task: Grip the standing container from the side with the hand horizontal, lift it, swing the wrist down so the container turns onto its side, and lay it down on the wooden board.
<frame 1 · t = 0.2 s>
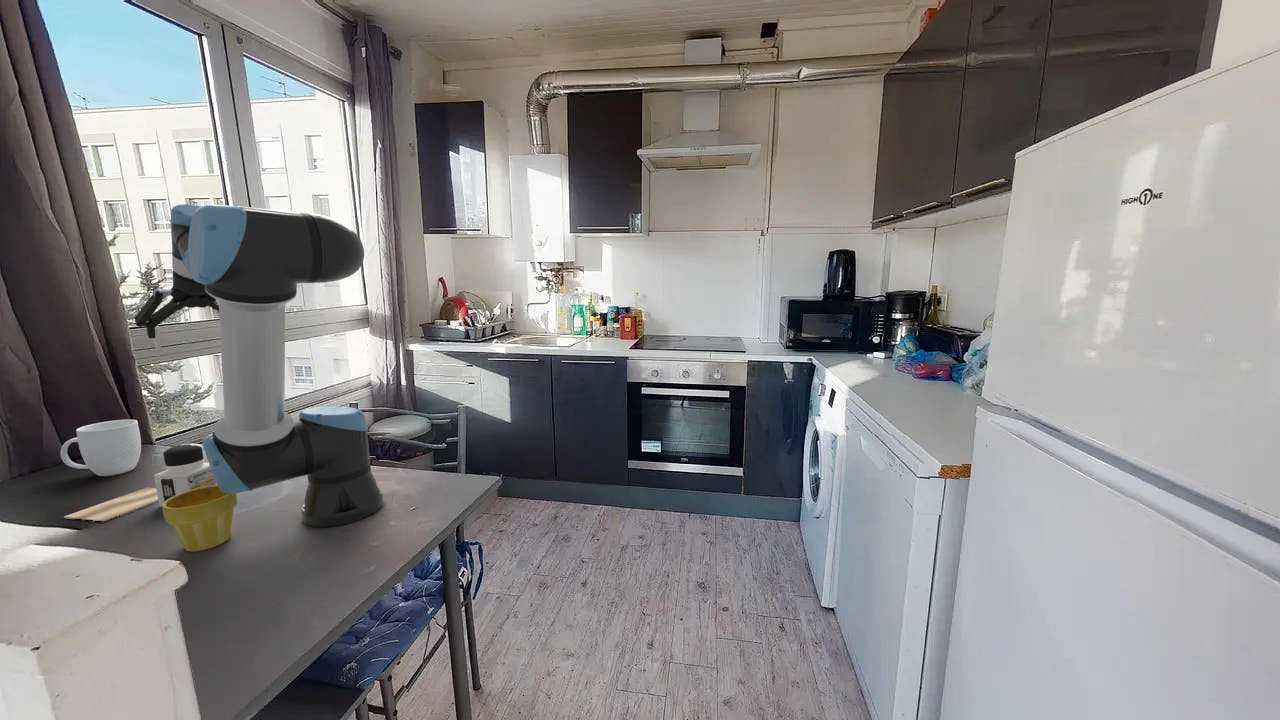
hand: (196, 344, 118), 35 cm above the table, tool tilted 35°, fingers open, 13 cm apart
wooden board: (127, 504, 108), on the table
plant pot: (207, 543, 92), on the table
mug: (111, 473, 127), on the table
container: (191, 500, 110), on the table
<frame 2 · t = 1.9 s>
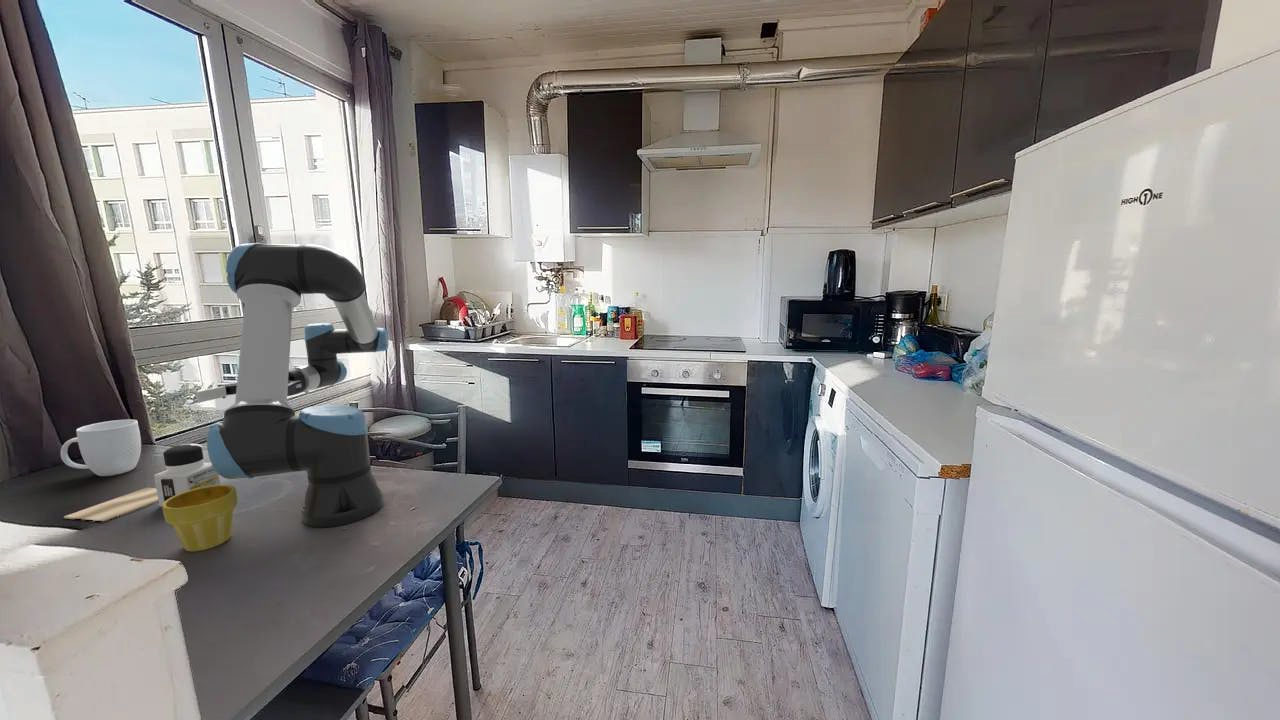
hand: (220, 398, 116), 22 cm above the table, tool horizontal, fingers open, 13 cm apart
nothing on the table moved.
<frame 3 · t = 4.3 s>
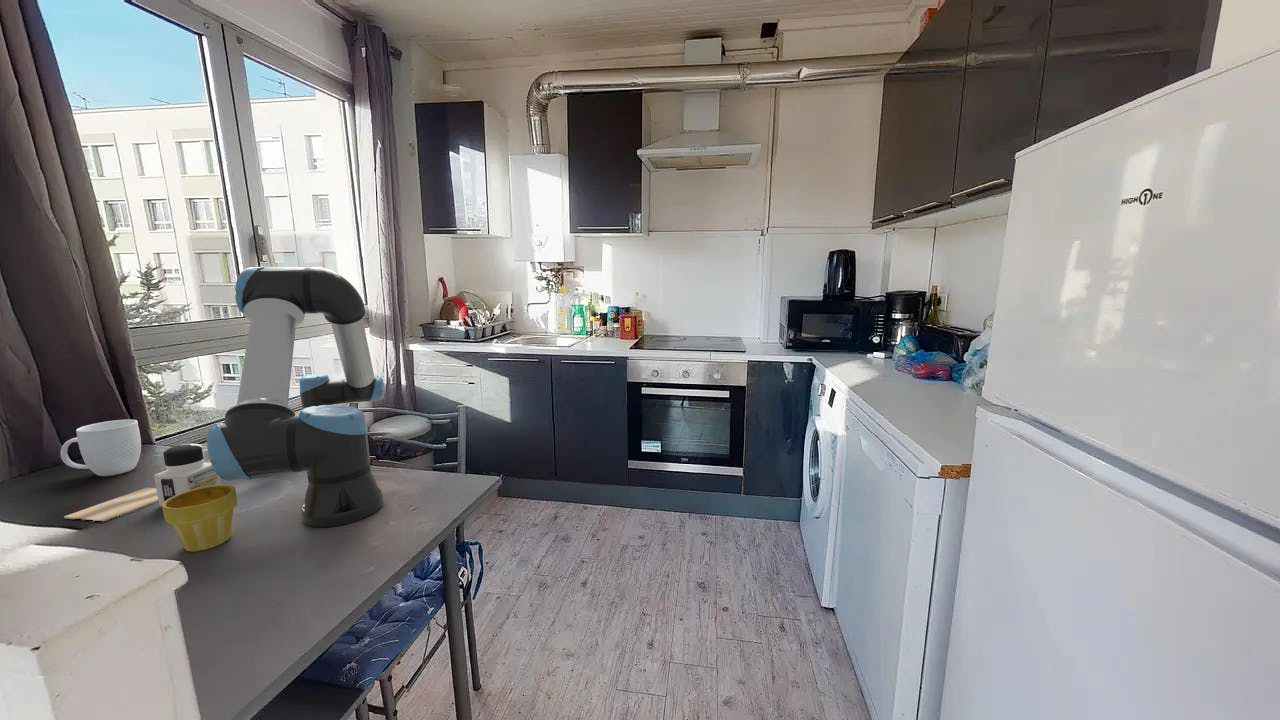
hand: (212, 462, 115), 7 cm above the table, tool horizontal, fingers open, 13 cm apart
nothing on the table moved.
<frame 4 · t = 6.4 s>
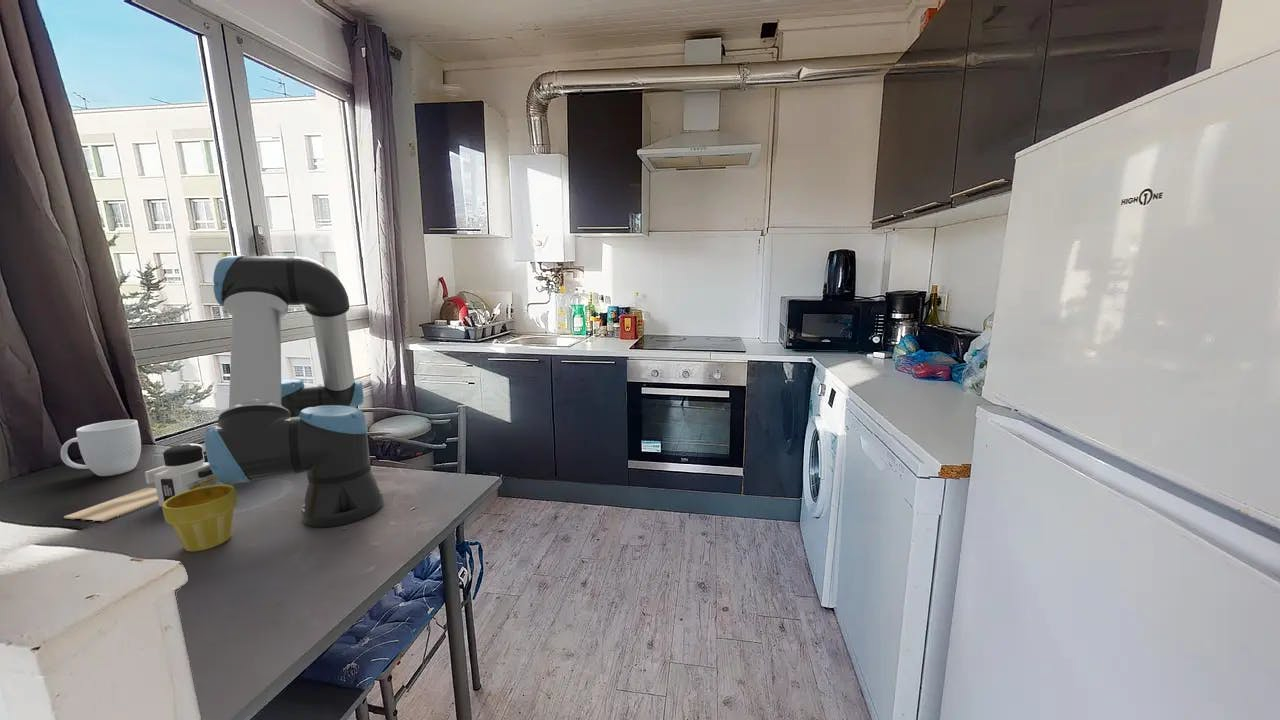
hand: (163, 479, 105), 7 cm above the table, tool horizontal, fingers closed on container, 8 cm apart
container: (191, 500, 110), on the table, touching gripper
everything else where it was.
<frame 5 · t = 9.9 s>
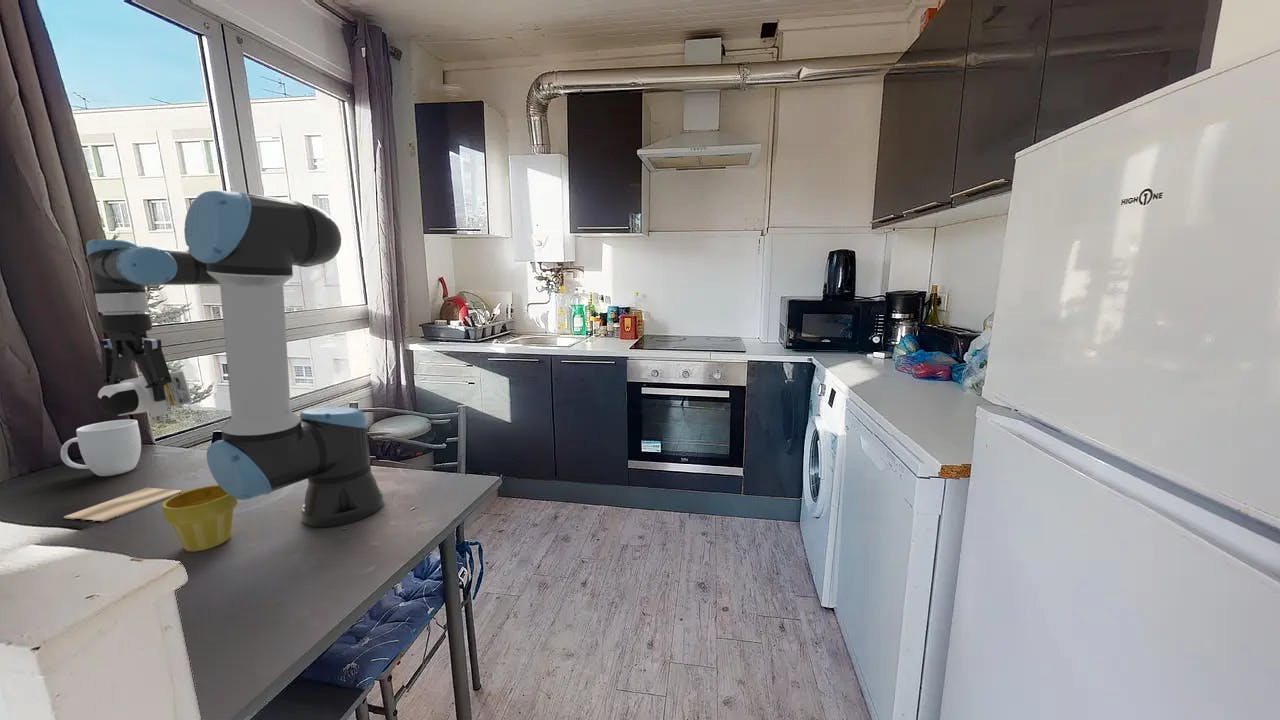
hand: (143, 414, 106), 21 cm above the table, tool pointing down, fingers closed on container, 8 cm apart
container: (177, 388, 112), point 25 cm above the table, touching gripper
everything else where it was.
when the fingers open (2 cm above the table, at t = 13.0 s): container drops 1 cm, resting on wooden board.
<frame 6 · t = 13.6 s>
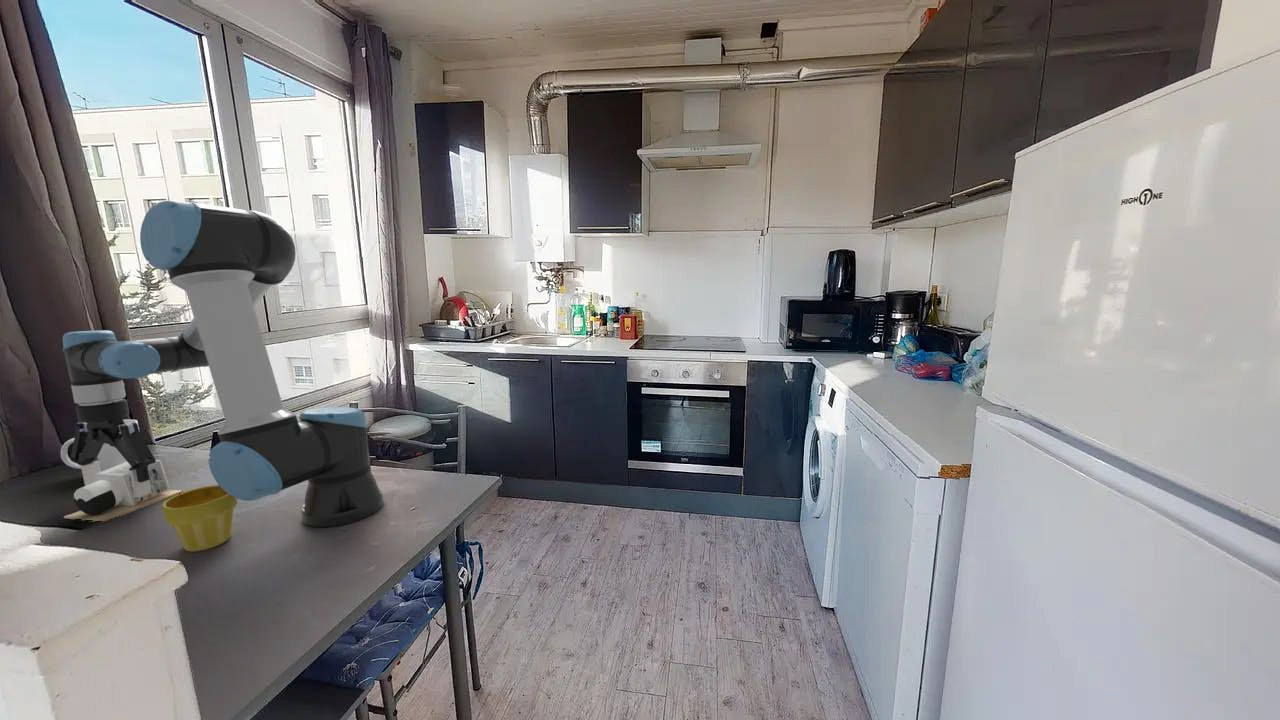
hand: (119, 493, 107), 3 cm above the table, tool pointing down, fingers open, 13 cm apart
container: (154, 472, 113), point 5 cm above the table, touching wooden board
everything else where it was.
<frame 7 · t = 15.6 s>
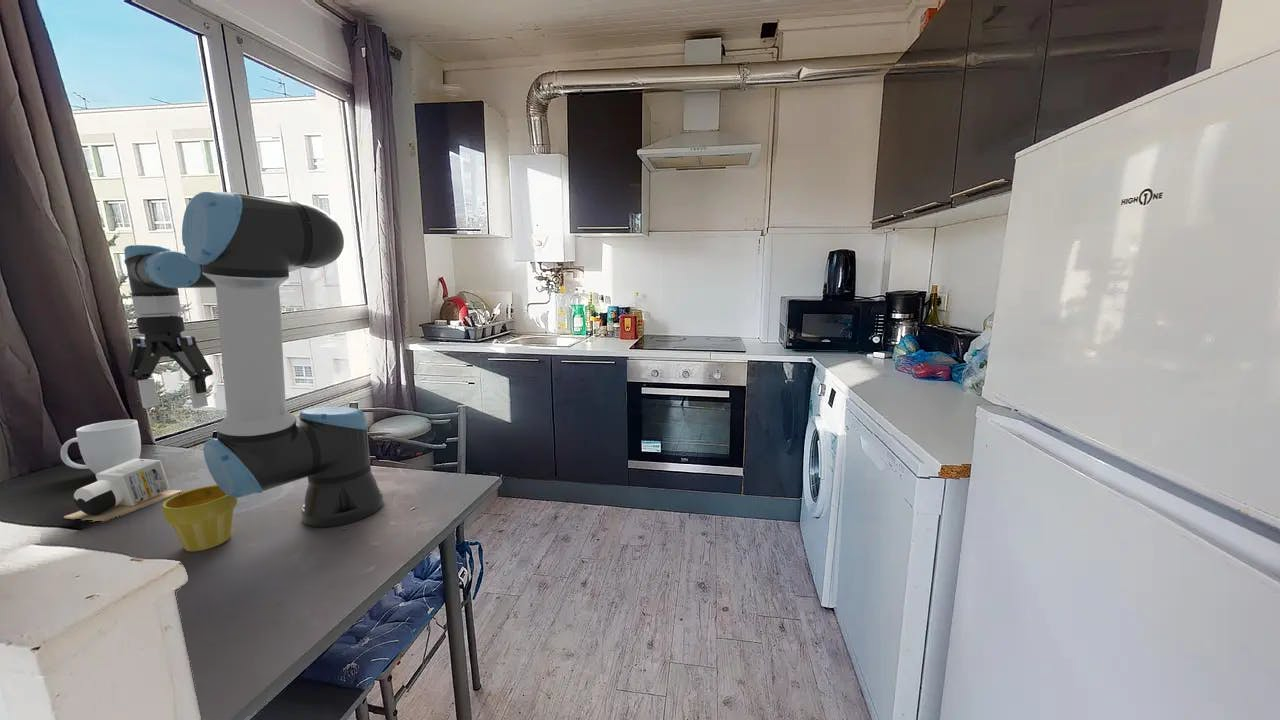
hand: (175, 406, 110), 21 cm above the table, tool pointing down, fingers open, 13 cm apart
nothing on the table moved.
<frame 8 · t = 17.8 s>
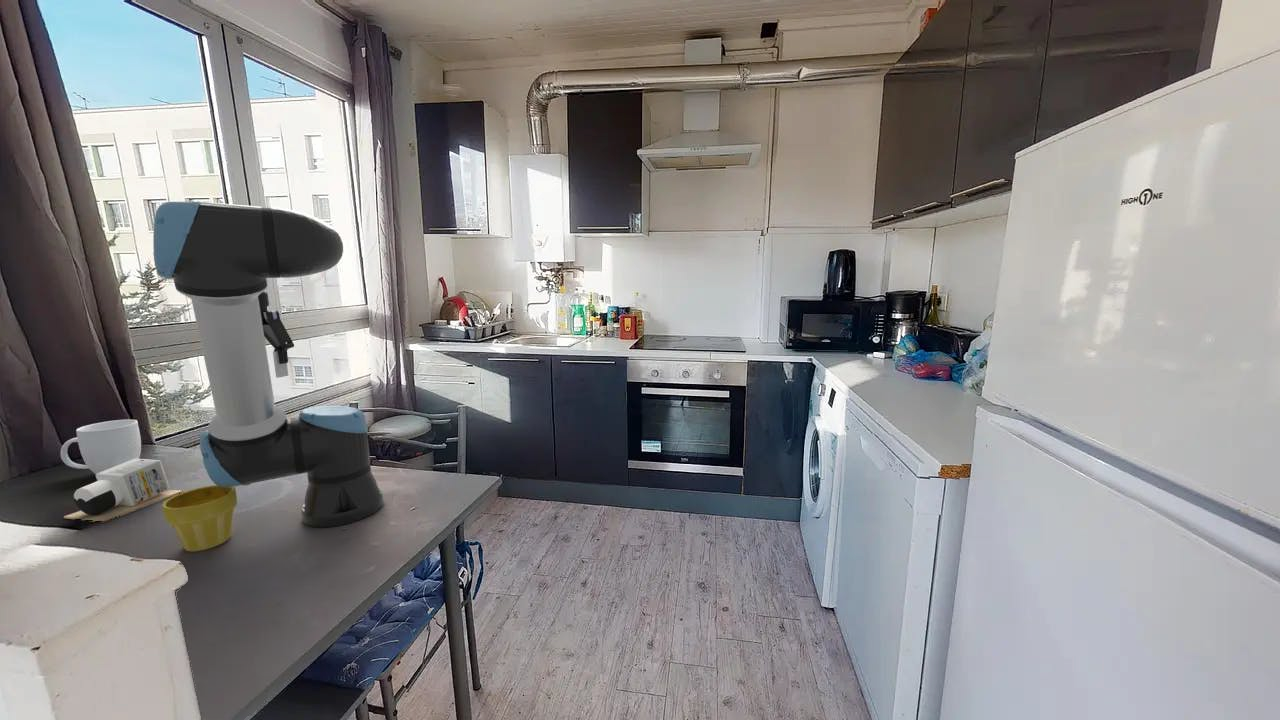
hand: (259, 375, 120), 27 cm above the table, tool pointing down, fingers open, 13 cm apart
nothing on the table moved.
at the end: container tilted 97°; container inside the target area (2.4 cm from its centre), point 5.2 cm above the table; the gripper is holding nothing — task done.
